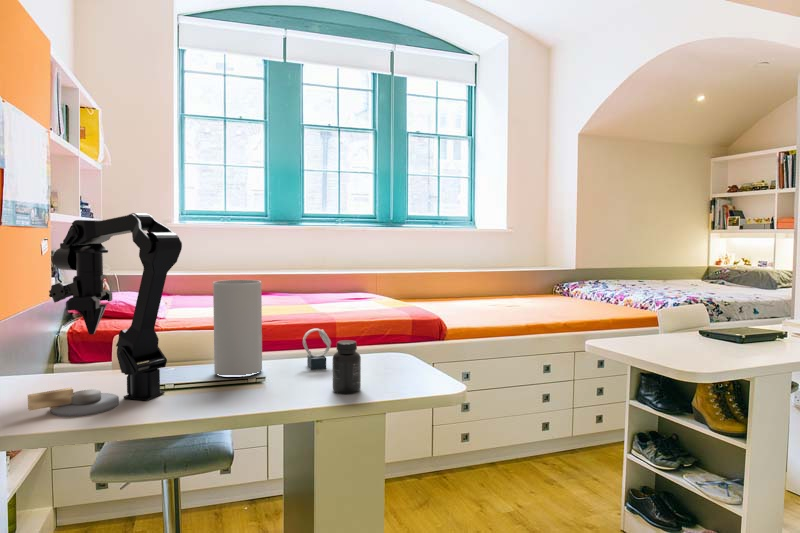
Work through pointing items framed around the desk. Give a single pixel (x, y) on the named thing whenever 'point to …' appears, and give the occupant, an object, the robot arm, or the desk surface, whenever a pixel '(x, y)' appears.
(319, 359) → the watch
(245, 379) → the desk surface
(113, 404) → the dial plate
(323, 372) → the desk surface
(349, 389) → the supplement bottle
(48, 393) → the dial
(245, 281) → the cylinder vase
